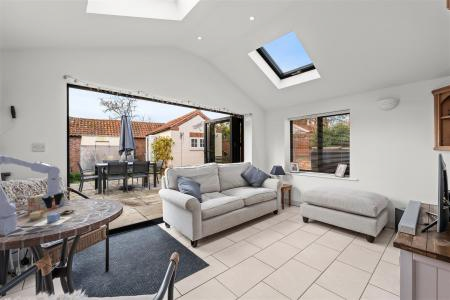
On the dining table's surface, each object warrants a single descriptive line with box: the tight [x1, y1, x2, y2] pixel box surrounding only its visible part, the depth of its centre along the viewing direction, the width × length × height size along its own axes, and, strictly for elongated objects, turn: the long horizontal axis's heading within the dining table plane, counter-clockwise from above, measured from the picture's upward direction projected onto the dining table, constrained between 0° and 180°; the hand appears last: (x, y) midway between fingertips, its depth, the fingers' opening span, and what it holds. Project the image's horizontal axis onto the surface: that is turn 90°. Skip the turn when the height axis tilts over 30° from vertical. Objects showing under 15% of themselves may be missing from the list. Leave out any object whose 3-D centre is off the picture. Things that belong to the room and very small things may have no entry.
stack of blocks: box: [27, 192, 65, 215], centre depth 146 cm, size 21×6×12 cm, turn 174°
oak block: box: [29, 211, 46, 221], centre depth 125 cm, size 5×5×5 cm
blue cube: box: [46, 212, 61, 223], centre depth 121 cm, size 4×4×4 cm
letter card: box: [33, 216, 72, 227], centre depth 121 cm, size 14×14×1 cm
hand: (53, 206), depth 121 cm, fingers open, 7 cm apart
